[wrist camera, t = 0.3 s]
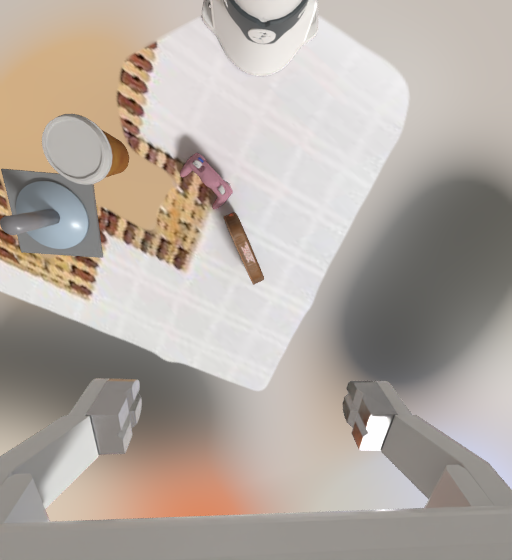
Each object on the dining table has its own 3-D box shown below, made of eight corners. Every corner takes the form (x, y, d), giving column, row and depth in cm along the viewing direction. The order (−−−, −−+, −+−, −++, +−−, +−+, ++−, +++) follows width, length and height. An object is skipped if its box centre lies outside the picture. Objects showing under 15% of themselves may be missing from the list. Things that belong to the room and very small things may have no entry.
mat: (3, 168, 49) (1, 168, 49) (92, 176, 51) (90, 176, 50) (23, 251, 55) (21, 252, 55) (102, 256, 56) (101, 257, 56)
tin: (223, 213, 54) (220, 220, 47) (237, 207, 54) (236, 213, 46) (251, 276, 60) (252, 292, 52) (264, 271, 59) (267, 286, 52)
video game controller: (229, 197, 55) (239, 187, 48) (214, 212, 54) (223, 204, 47) (193, 159, 52) (199, 143, 45) (176, 174, 51) (180, 160, 44)
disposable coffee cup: (104, 114, 47) (61, 95, 36) (148, 156, 50) (121, 150, 39) (74, 155, 49) (25, 149, 38) (118, 193, 52) (84, 198, 41)
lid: (11, 178, 50) (-47, 178, 40) (84, 184, 51) (44, 186, 41) (27, 245, 54) (-22, 261, 44) (93, 250, 55) (60, 266, 45)
